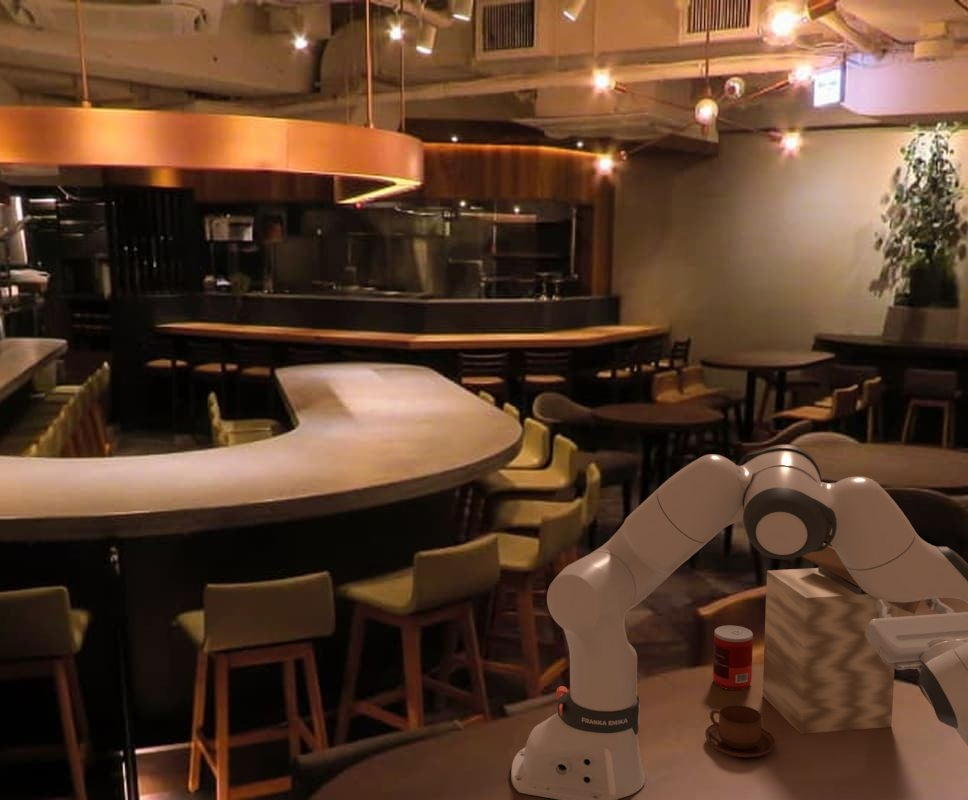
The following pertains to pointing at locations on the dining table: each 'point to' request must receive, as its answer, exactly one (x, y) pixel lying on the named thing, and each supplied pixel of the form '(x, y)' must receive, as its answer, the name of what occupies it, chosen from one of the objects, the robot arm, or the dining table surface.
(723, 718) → the cup and saucer
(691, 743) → the dining table surface
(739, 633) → the canned food
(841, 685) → the zigzag patterned box
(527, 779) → the robot arm
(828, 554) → the walnut block
